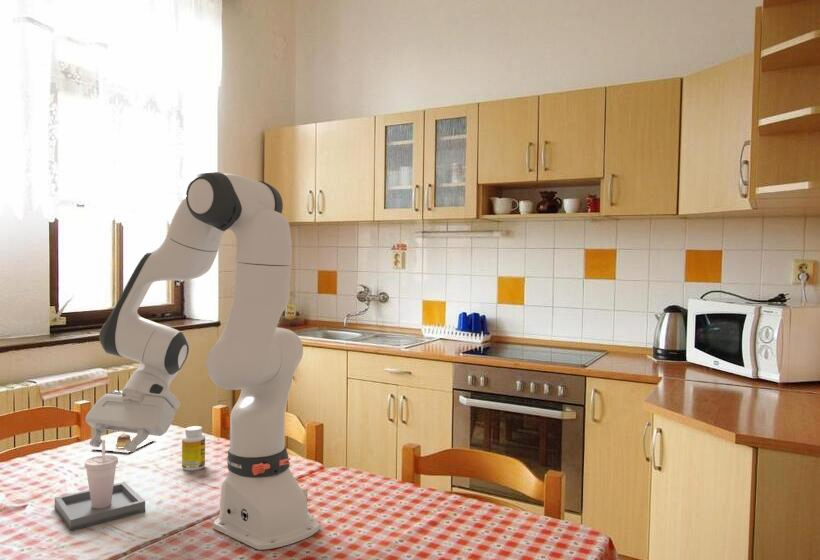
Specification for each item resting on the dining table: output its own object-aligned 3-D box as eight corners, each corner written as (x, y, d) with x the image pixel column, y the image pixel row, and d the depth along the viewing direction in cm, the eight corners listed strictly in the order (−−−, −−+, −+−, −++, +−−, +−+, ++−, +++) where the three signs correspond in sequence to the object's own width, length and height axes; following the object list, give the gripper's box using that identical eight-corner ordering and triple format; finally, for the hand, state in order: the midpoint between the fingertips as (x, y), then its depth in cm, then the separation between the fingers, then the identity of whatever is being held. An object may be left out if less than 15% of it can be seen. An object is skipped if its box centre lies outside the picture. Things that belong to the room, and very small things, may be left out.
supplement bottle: (203, 470, 149) (203, 430, 149) (180, 472, 148) (180, 431, 148) (206, 463, 155) (206, 424, 154) (183, 464, 154) (183, 425, 153)
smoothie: (103, 512, 123) (103, 445, 122) (77, 509, 124) (76, 443, 123) (124, 500, 129) (124, 436, 128) (99, 497, 130) (99, 434, 130)
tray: (145, 511, 125) (145, 501, 125) (70, 531, 116) (70, 520, 116) (124, 491, 136) (124, 481, 136) (54, 507, 126) (54, 497, 126)
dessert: (119, 439, 175) (119, 423, 175) (156, 442, 172) (156, 426, 172) (90, 452, 163) (89, 435, 163) (128, 456, 161) (128, 438, 160)
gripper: (100, 382, 138) (64, 436, 129) (173, 388, 132) (141, 445, 123) (115, 397, 142) (81, 450, 133) (186, 404, 136) (156, 460, 127)
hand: (110, 448), depth 128 cm, fingers open, 8 cm apart
